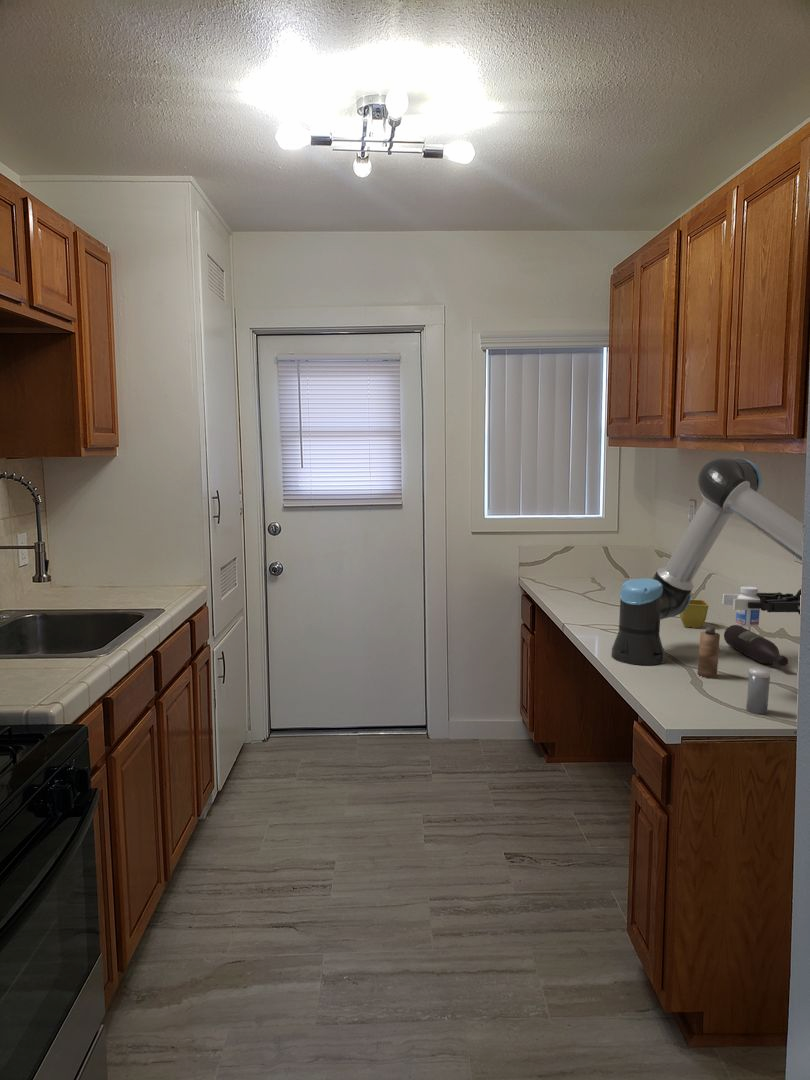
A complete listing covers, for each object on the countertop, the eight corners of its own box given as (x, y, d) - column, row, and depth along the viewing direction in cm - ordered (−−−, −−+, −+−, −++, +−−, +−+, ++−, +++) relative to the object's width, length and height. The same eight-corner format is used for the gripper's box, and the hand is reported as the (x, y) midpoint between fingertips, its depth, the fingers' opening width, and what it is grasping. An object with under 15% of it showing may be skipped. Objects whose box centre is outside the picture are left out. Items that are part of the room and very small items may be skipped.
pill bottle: (757, 623, 197) (760, 586, 196) (759, 628, 192) (762, 590, 191) (734, 621, 199) (737, 585, 197) (736, 626, 194) (739, 588, 192)
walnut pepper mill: (699, 677, 209) (703, 629, 208) (695, 672, 214) (698, 625, 212) (718, 679, 209) (722, 630, 207) (714, 673, 214) (717, 626, 212)
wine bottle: (748, 631, 244) (800, 657, 214) (737, 649, 244) (787, 678, 214) (730, 620, 243) (780, 645, 213) (719, 639, 244) (767, 666, 214)
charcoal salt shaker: (749, 713, 182) (752, 672, 180) (743, 707, 186) (746, 666, 185) (769, 714, 181) (773, 673, 180) (763, 708, 186) (766, 668, 184)
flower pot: (707, 630, 264) (708, 605, 263) (680, 628, 266) (682, 603, 265) (702, 624, 273) (704, 600, 272) (676, 623, 274) (678, 598, 273)
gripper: (837, 625, 187) (744, 624, 186) (796, 609, 205) (711, 608, 204) (840, 595, 186) (746, 594, 185) (798, 581, 204) (713, 580, 203)
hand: (728, 601), depth 194 cm, fingers closed on pill bottle, 5 cm apart
